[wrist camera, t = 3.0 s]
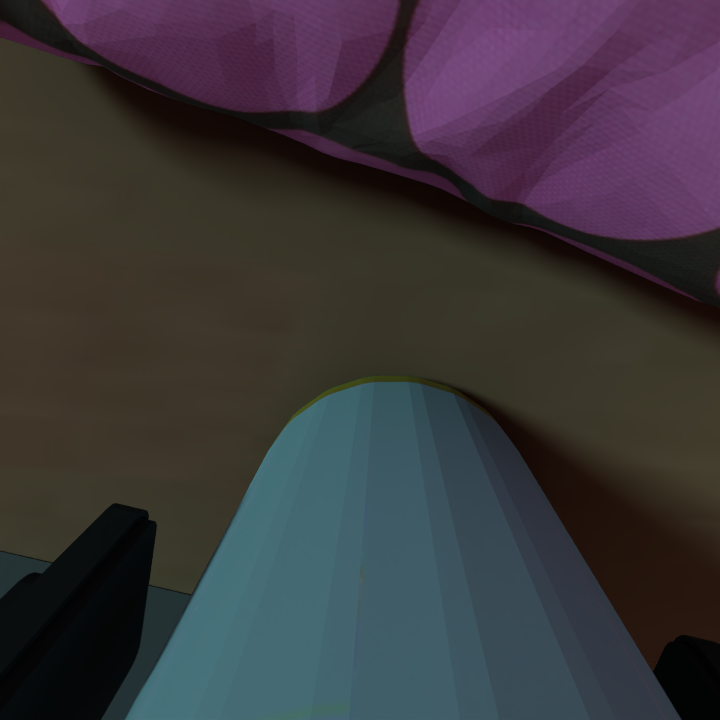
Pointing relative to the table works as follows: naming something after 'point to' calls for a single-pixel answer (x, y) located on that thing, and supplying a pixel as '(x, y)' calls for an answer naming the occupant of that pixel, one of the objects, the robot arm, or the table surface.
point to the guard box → (157, 627)
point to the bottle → (398, 582)
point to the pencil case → (457, 101)
